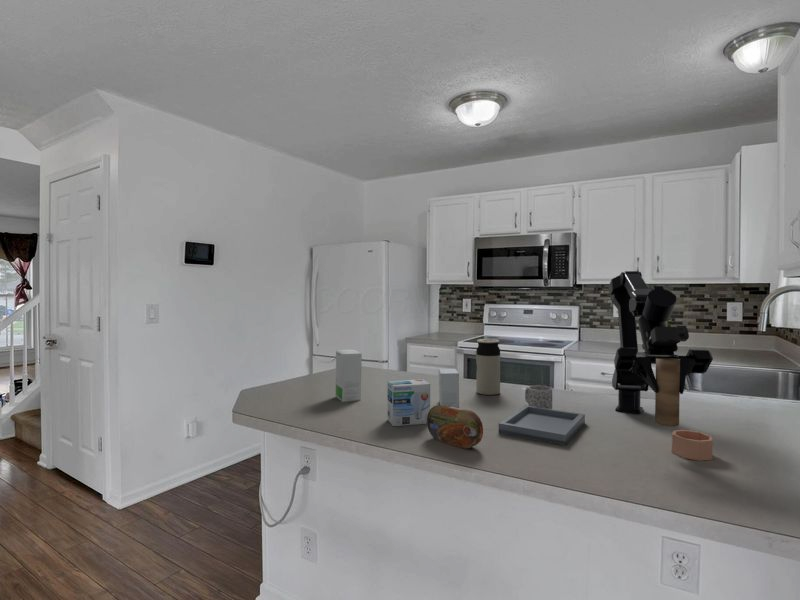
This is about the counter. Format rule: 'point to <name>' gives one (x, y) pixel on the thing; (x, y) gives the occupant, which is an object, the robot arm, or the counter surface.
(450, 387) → the small box
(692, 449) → the terracotta cup
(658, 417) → the walnut dowel
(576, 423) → the slate tray
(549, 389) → the mug
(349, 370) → the skincare box
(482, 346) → the travel mug
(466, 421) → the tin
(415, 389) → the light bulb box
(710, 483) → the counter surface
